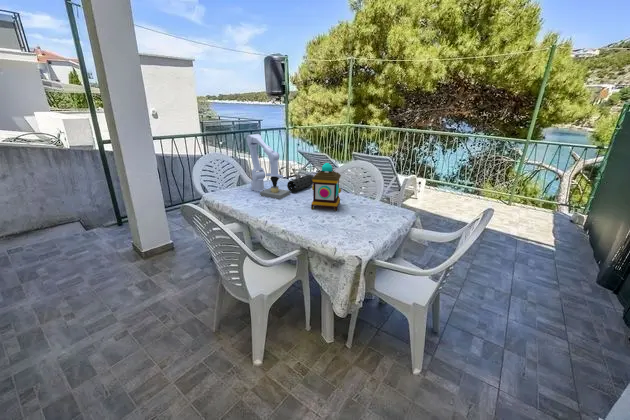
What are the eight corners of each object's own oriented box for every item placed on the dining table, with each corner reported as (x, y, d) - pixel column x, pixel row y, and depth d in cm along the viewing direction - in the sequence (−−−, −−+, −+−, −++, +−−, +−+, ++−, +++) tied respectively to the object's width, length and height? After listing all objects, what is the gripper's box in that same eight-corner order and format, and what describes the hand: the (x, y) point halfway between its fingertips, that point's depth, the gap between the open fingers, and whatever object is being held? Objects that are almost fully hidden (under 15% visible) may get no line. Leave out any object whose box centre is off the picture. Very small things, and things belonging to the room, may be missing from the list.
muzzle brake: (286, 192, 221) (286, 179, 217) (306, 184, 243) (306, 173, 240) (296, 194, 216) (296, 181, 213) (315, 186, 238) (315, 174, 235)
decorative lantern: (338, 212, 179) (340, 166, 169) (308, 210, 183) (309, 164, 173) (341, 202, 198) (344, 160, 187) (314, 200, 201) (315, 159, 191)
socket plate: (260, 195, 211) (260, 192, 210) (271, 191, 222) (270, 187, 221) (279, 199, 203) (279, 195, 202) (290, 194, 215) (290, 190, 214)
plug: (271, 195, 212) (270, 186, 209) (274, 194, 215) (274, 185, 213) (275, 196, 210) (275, 187, 208) (278, 195, 213) (278, 186, 211)
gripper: (263, 168, 205) (264, 186, 210) (279, 170, 199) (279, 188, 204) (268, 166, 211) (269, 184, 216) (284, 168, 205) (285, 186, 210)
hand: (274, 186), depth 210 cm, fingers closed
